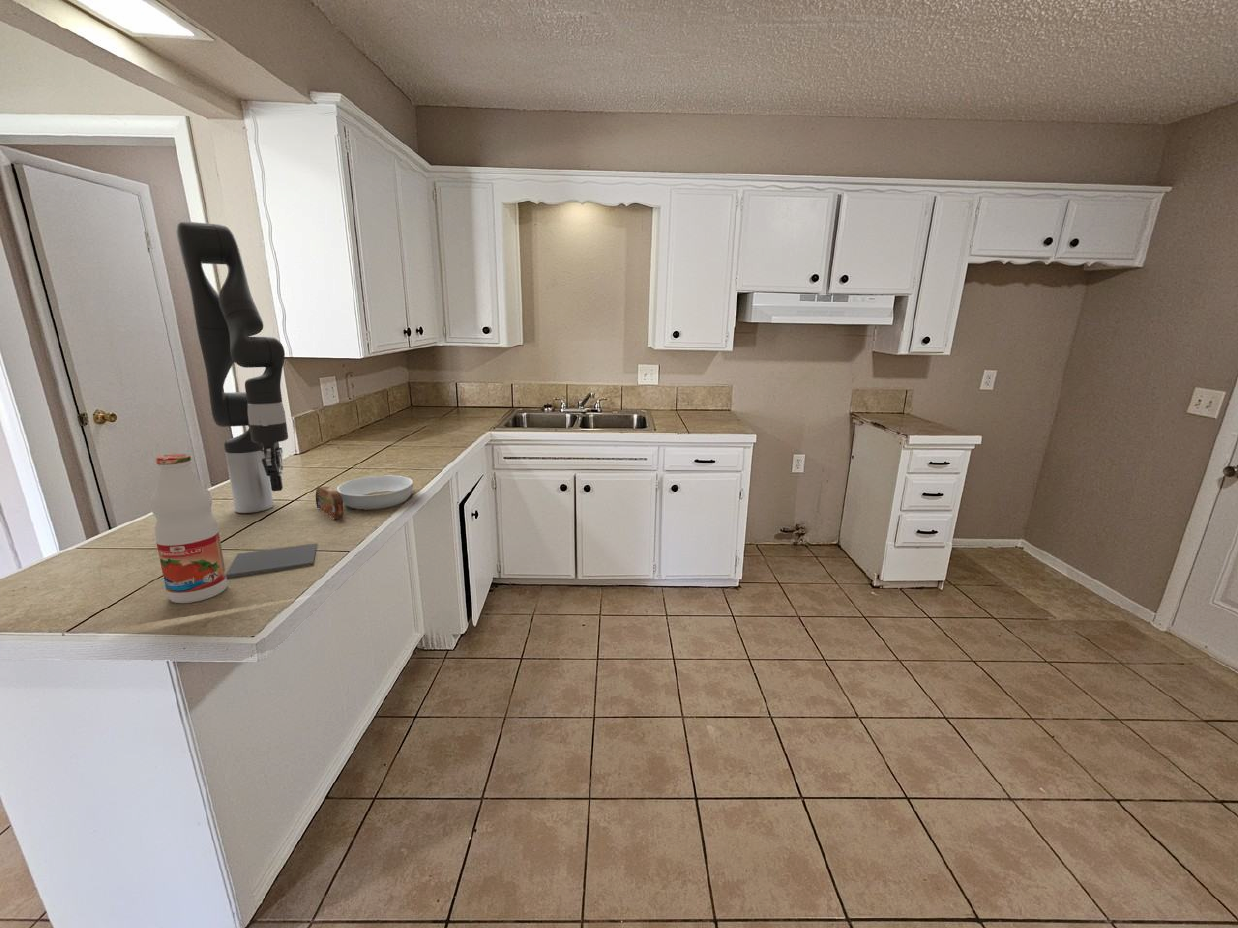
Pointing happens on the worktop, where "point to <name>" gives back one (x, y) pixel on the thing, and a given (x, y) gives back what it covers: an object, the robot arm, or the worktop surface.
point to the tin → (330, 502)
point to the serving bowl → (359, 487)
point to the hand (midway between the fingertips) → (277, 490)
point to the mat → (272, 560)
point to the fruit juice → (186, 533)
